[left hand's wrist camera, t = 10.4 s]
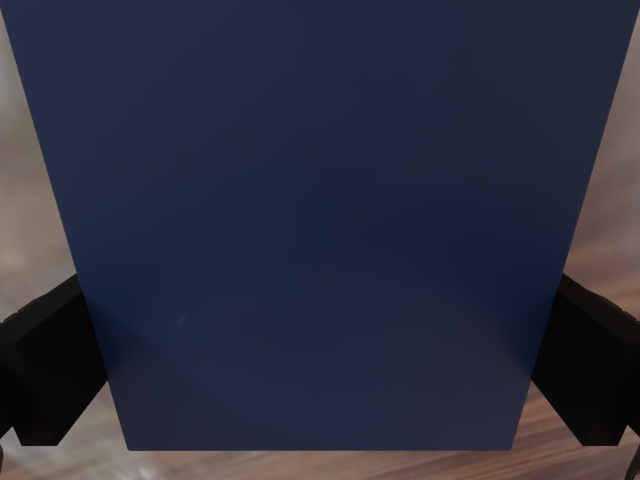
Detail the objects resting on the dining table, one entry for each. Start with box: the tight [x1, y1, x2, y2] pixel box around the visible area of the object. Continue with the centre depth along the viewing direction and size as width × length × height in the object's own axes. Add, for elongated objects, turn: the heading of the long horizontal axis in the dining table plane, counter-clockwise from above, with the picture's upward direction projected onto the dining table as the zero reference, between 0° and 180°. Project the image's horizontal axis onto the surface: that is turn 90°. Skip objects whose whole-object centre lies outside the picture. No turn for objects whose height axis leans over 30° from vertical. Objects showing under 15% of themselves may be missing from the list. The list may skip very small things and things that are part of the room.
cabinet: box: [0, 0, 640, 451], centre depth 12 cm, size 15×11×11 cm
